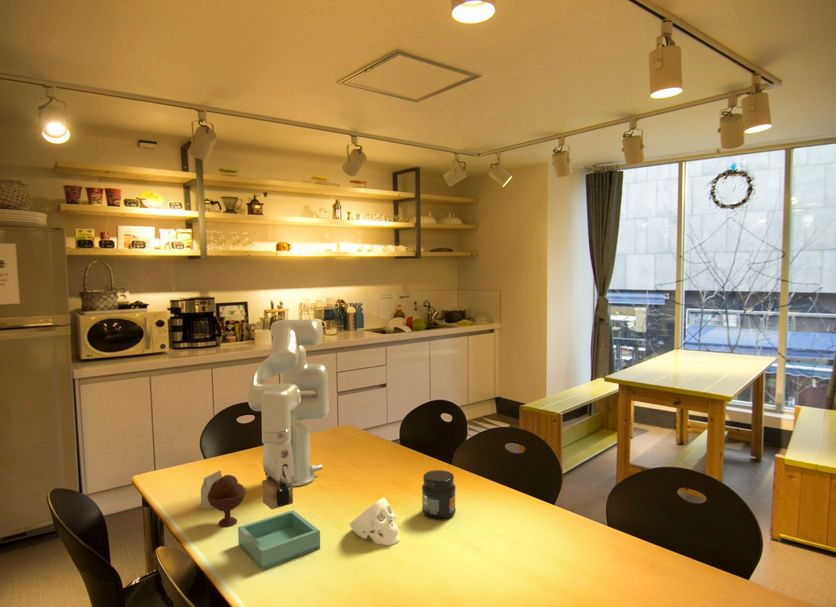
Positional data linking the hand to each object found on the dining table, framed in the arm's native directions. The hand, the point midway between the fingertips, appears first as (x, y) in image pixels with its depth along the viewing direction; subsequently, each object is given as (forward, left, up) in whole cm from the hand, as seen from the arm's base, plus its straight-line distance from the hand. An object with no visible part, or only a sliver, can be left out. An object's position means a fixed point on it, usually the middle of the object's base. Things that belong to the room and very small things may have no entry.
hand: (277, 499), depth 143 cm
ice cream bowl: (+6, -23, -13) cm, 27 cm away
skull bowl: (-24, +12, -14) cm, 30 cm away
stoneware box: (0, 0, -13) cm, 13 cm away
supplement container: (-47, +13, -13) cm, 51 cm away
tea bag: (+5, -39, -14) cm, 42 cm away
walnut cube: (0, 0, -1) cm, 1 cm away
